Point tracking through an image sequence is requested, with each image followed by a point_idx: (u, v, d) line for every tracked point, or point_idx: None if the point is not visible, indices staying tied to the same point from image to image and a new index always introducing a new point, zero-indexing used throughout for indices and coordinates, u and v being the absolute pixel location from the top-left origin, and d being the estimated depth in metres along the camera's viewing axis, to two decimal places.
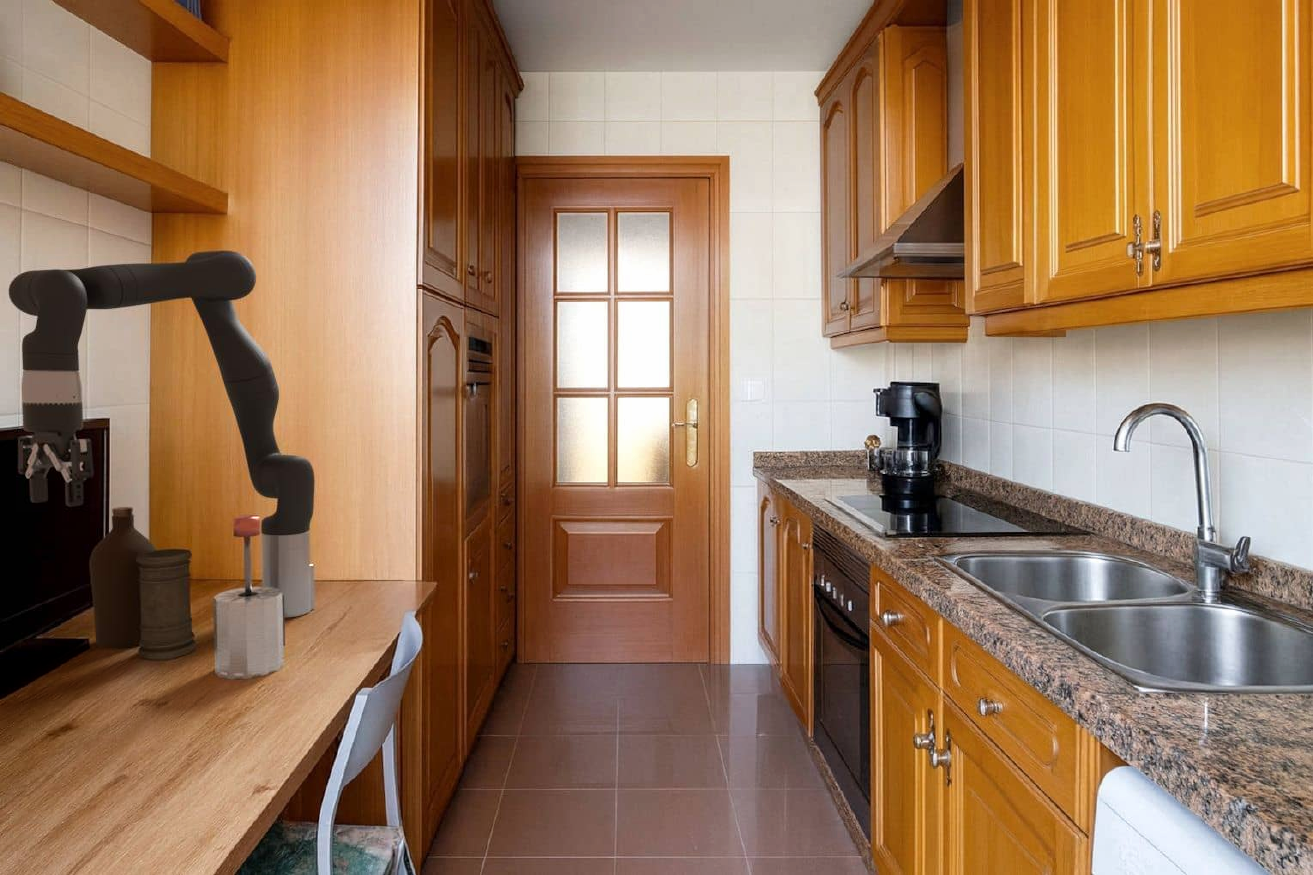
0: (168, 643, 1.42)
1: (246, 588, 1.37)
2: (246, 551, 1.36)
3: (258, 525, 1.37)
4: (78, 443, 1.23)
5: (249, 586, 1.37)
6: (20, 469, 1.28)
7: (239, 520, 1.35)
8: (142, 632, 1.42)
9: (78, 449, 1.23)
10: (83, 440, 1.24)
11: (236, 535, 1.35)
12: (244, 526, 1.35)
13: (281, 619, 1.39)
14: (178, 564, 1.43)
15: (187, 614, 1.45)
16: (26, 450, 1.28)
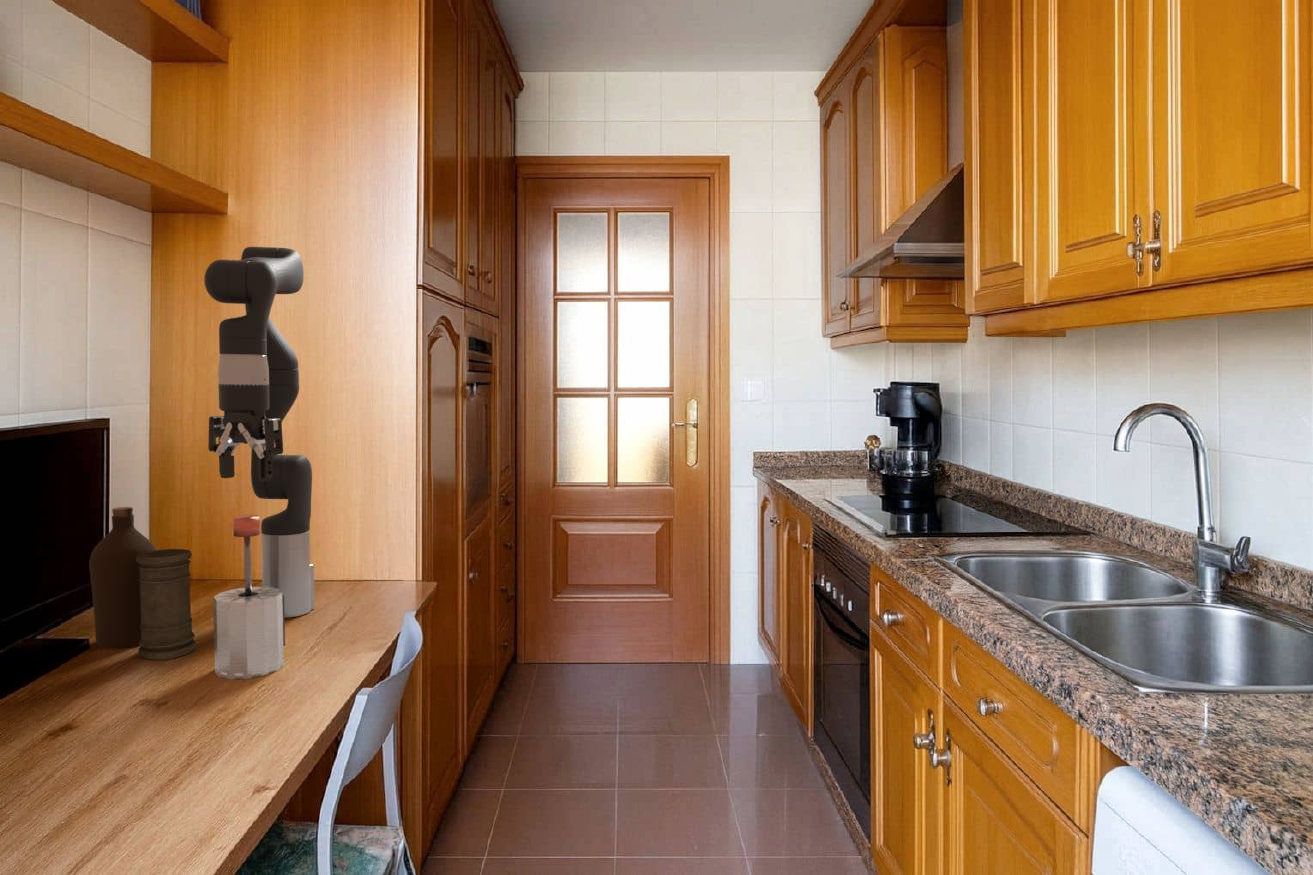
0: (168, 643, 1.42)
1: (246, 588, 1.37)
2: (246, 551, 1.36)
3: (258, 525, 1.37)
4: (272, 422, 1.32)
5: (249, 586, 1.37)
6: (211, 447, 1.37)
7: (239, 520, 1.35)
8: (142, 632, 1.42)
9: (272, 428, 1.32)
10: (275, 419, 1.33)
11: (236, 535, 1.35)
12: (244, 526, 1.35)
13: (281, 619, 1.39)
14: (178, 564, 1.43)
15: (187, 614, 1.45)
16: (216, 429, 1.37)
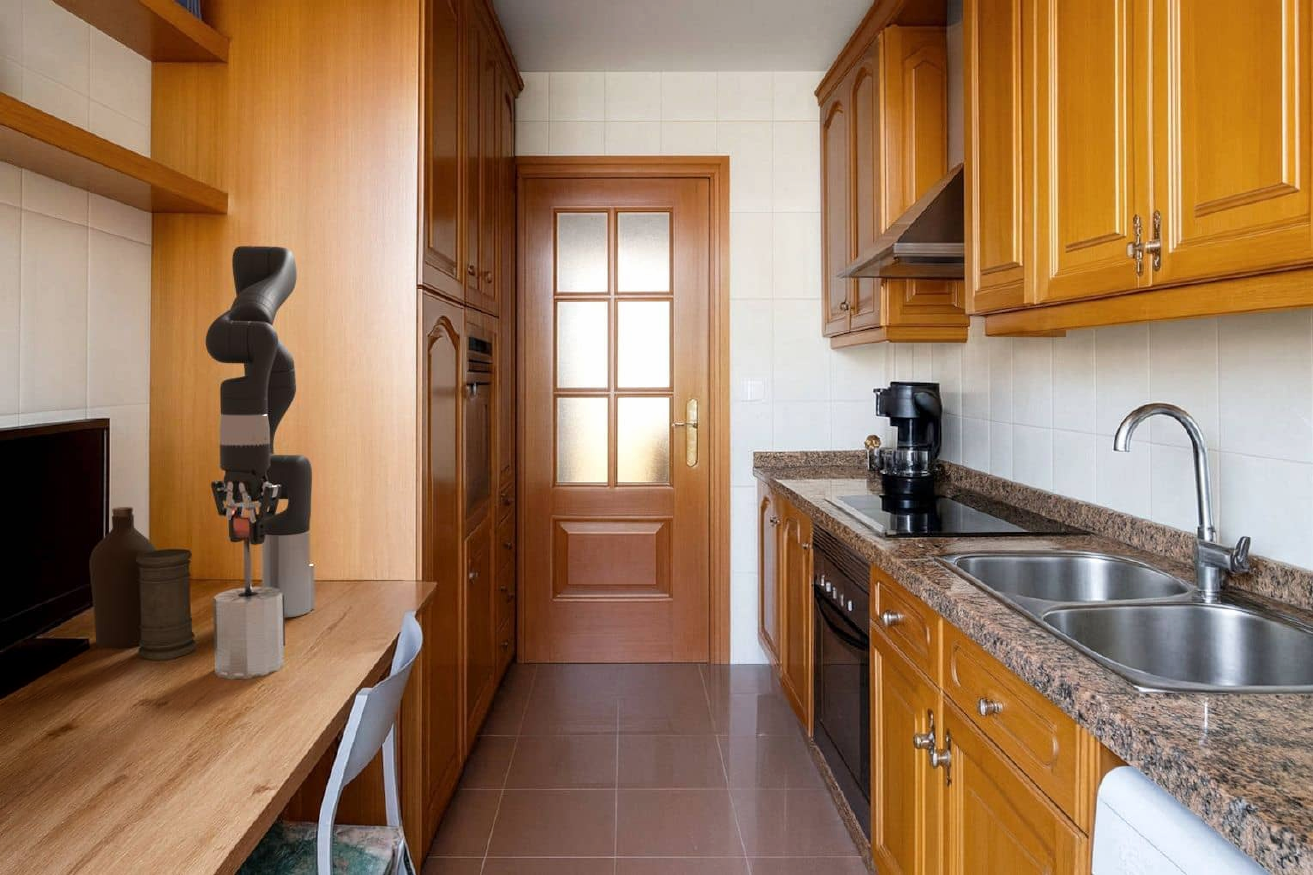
0: (168, 643, 1.42)
1: (246, 588, 1.37)
2: (246, 551, 1.36)
3: None
4: (272, 490, 1.33)
5: (249, 586, 1.37)
6: (220, 511, 1.37)
7: (239, 520, 1.35)
8: (142, 632, 1.42)
9: (270, 496, 1.33)
10: (276, 487, 1.34)
11: (236, 535, 1.35)
12: (244, 527, 1.35)
13: (281, 619, 1.39)
14: (178, 564, 1.43)
15: (187, 614, 1.45)
16: (220, 492, 1.37)
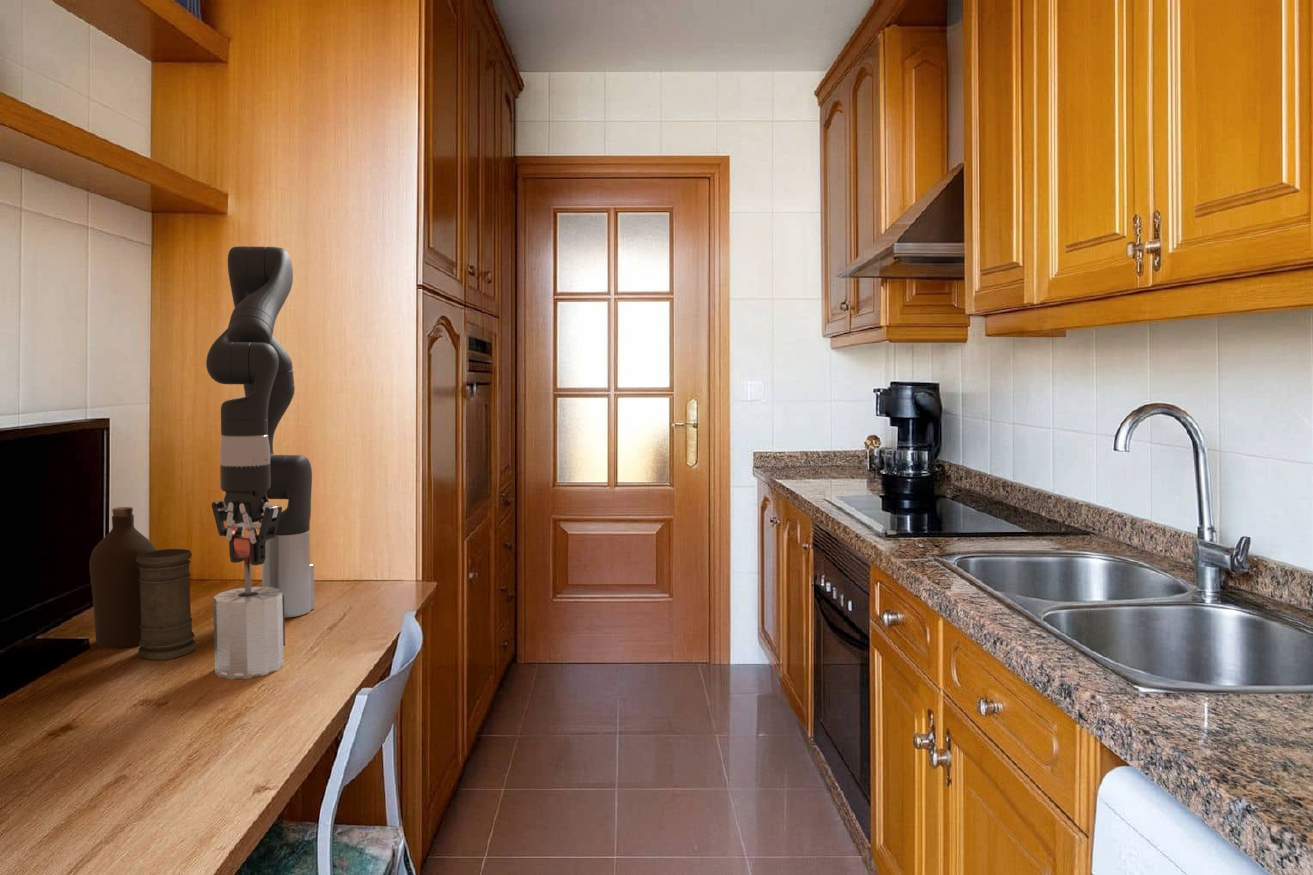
0: (168, 643, 1.42)
1: None
2: (246, 572, 1.37)
3: None
4: (272, 511, 1.33)
5: None
6: (220, 531, 1.37)
7: (239, 541, 1.35)
8: (142, 632, 1.42)
9: (270, 517, 1.33)
10: (276, 508, 1.34)
11: (236, 556, 1.35)
12: (244, 547, 1.35)
13: (281, 619, 1.39)
14: (178, 564, 1.43)
15: (187, 614, 1.45)
16: (221, 513, 1.38)
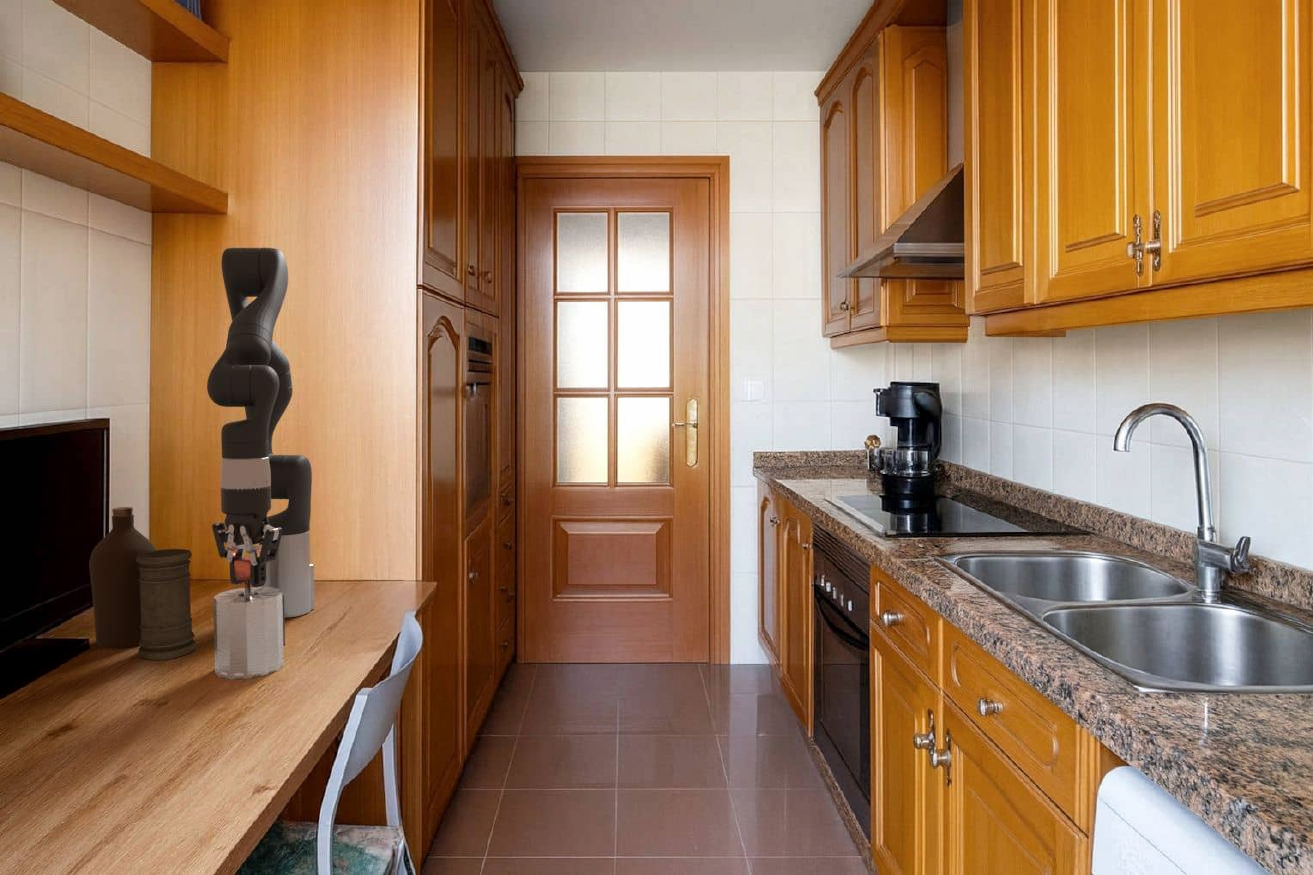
0: (168, 643, 1.42)
1: None
2: (246, 593, 1.37)
3: None
4: (273, 534, 1.34)
5: None
6: (221, 553, 1.37)
7: (240, 563, 1.35)
8: (142, 632, 1.42)
9: (271, 539, 1.34)
10: (277, 530, 1.34)
11: (237, 578, 1.35)
12: (245, 569, 1.35)
13: (281, 619, 1.39)
14: (178, 564, 1.43)
15: (187, 614, 1.45)
16: (221, 534, 1.38)
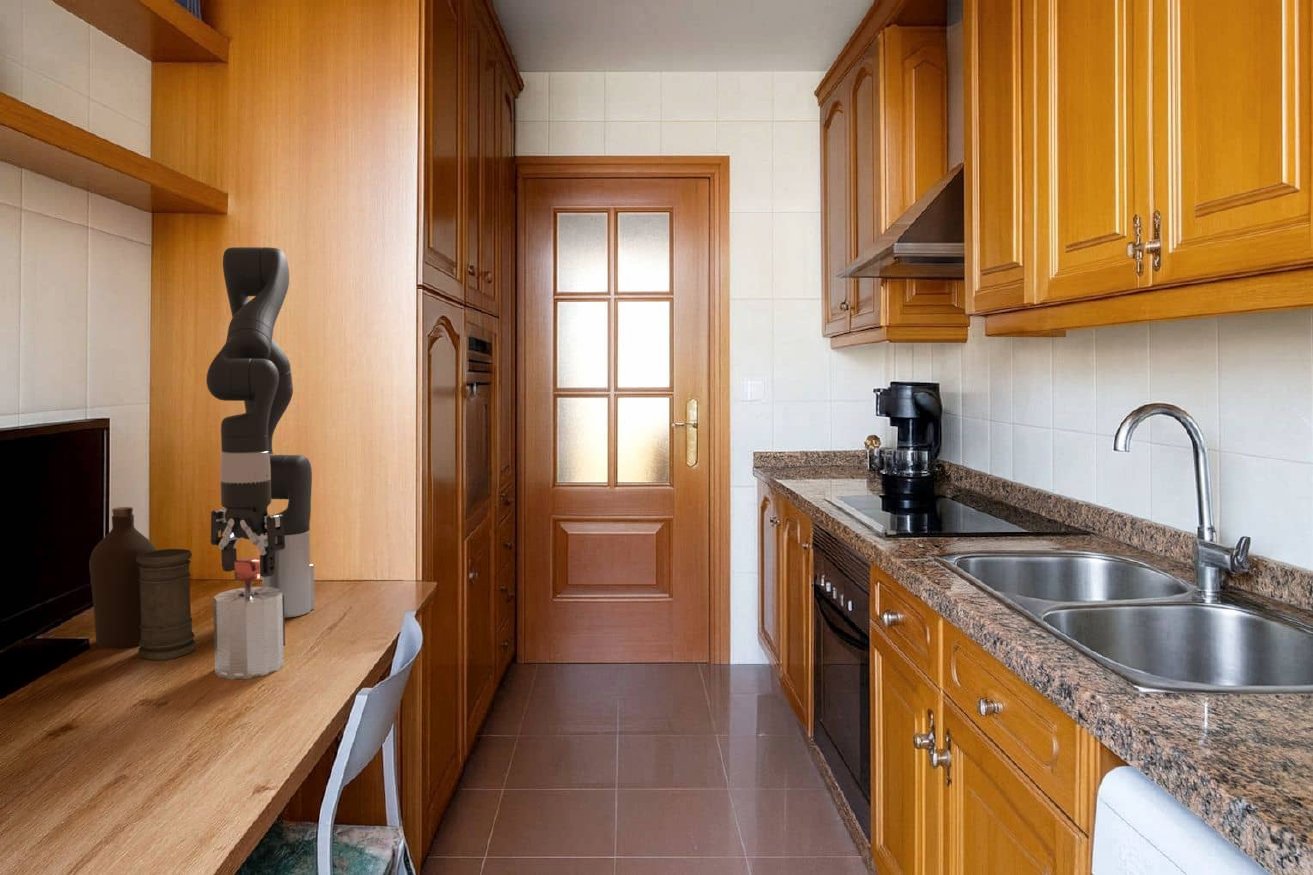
0: (168, 643, 1.42)
1: None
2: (246, 594, 1.37)
3: (259, 568, 1.37)
4: (274, 519, 1.33)
5: None
6: (213, 541, 1.38)
7: (240, 564, 1.35)
8: (142, 632, 1.42)
9: (274, 525, 1.33)
10: (277, 516, 1.34)
11: (237, 578, 1.35)
12: (245, 570, 1.35)
13: (281, 619, 1.39)
14: (178, 564, 1.43)
15: (187, 614, 1.45)
16: (218, 523, 1.38)
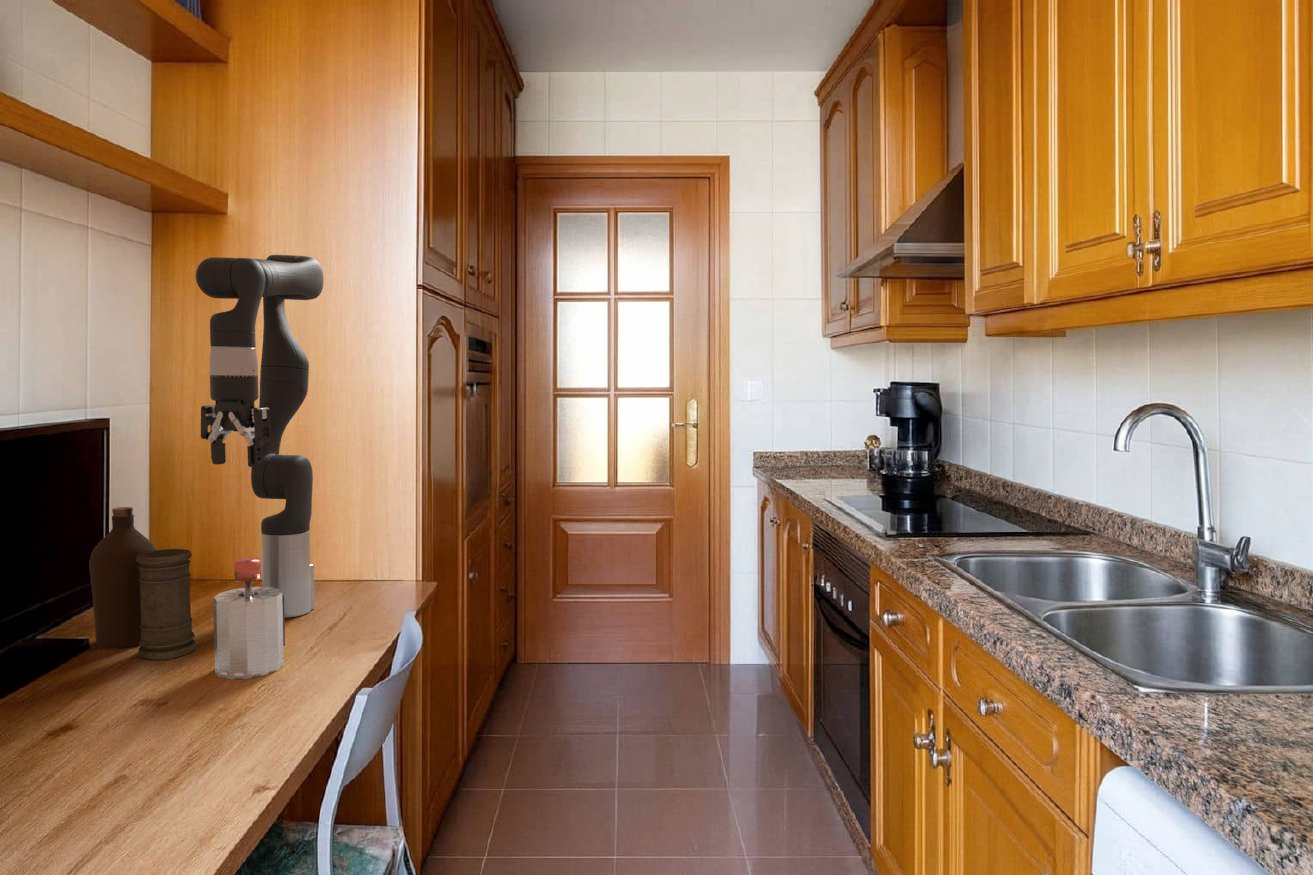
0: (168, 643, 1.42)
1: None
2: (246, 594, 1.37)
3: (259, 568, 1.37)
4: (260, 411, 1.40)
5: None
6: (203, 435, 1.44)
7: (240, 564, 1.35)
8: (142, 632, 1.42)
9: (260, 416, 1.39)
10: (264, 408, 1.40)
11: (237, 578, 1.35)
12: (245, 570, 1.35)
13: (281, 619, 1.39)
14: (178, 564, 1.43)
15: (187, 614, 1.45)
16: (208, 418, 1.44)
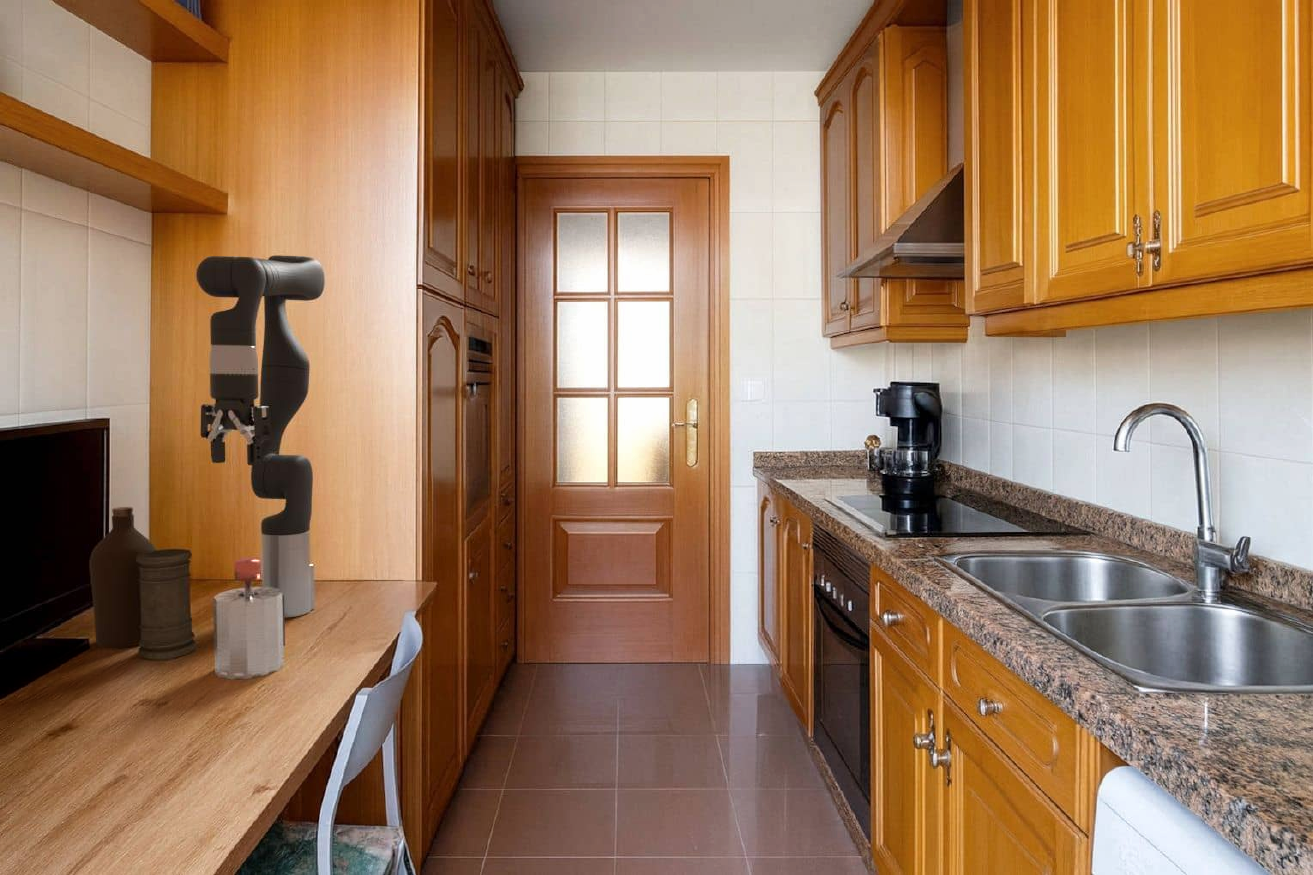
0: (168, 643, 1.42)
1: None
2: (246, 594, 1.37)
3: (259, 568, 1.37)
4: (260, 409, 1.40)
5: None
6: (203, 433, 1.44)
7: (240, 564, 1.35)
8: (142, 632, 1.42)
9: (260, 414, 1.40)
10: (263, 407, 1.40)
11: (237, 578, 1.35)
12: (245, 570, 1.35)
13: (281, 619, 1.39)
14: (178, 564, 1.43)
15: (187, 614, 1.45)
16: (208, 416, 1.44)
